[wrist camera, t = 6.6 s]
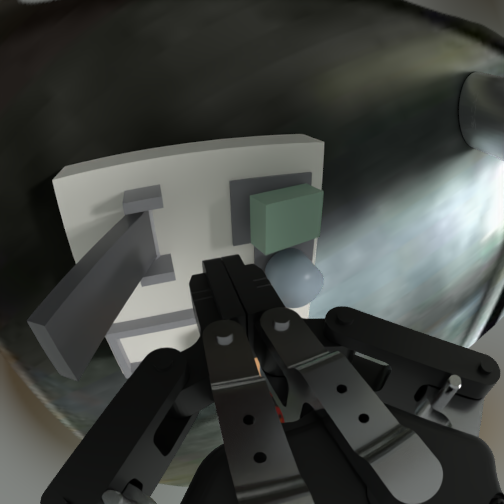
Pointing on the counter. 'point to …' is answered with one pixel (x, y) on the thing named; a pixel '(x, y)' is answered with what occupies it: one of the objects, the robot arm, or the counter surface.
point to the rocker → (285, 217)
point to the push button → (294, 277)
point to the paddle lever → (93, 295)
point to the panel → (181, 221)
